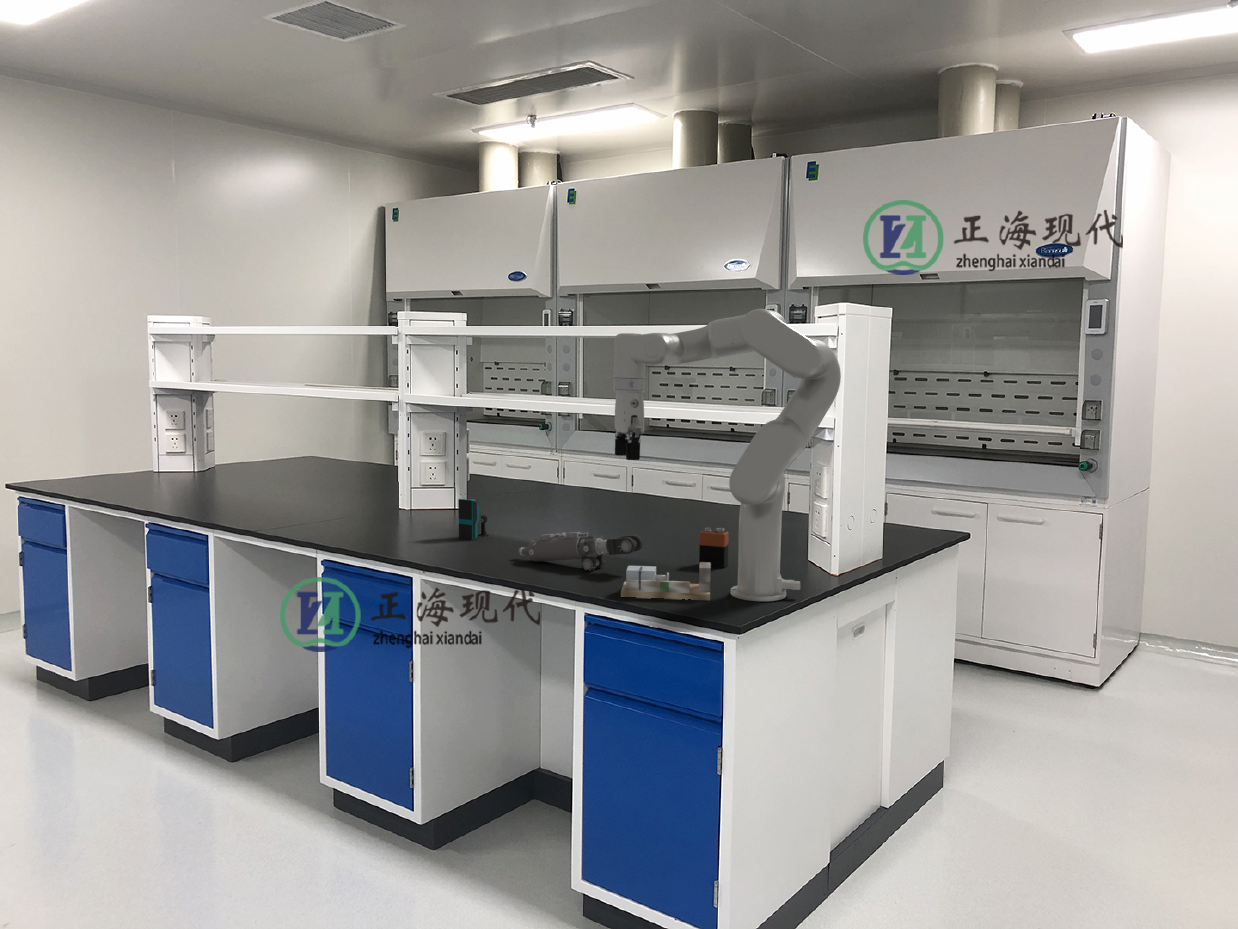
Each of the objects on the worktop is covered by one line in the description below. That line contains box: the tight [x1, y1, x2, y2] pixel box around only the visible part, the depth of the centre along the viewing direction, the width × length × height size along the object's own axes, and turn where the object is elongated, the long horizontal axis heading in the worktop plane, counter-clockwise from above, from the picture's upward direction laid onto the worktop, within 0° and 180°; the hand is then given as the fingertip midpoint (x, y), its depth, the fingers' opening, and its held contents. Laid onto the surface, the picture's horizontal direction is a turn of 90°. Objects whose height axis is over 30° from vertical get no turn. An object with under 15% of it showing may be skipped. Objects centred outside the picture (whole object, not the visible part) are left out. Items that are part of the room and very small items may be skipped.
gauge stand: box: [620, 562, 712, 601], centre depth 214 cm, size 20×9×7 cm, turn 85°
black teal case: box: [457, 498, 488, 541], centre depth 280 cm, size 6×12×10 cm
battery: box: [698, 527, 730, 569], centre depth 244 cm, size 4×7×10 cm, turn 67°
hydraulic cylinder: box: [517, 531, 644, 572], centre depth 241 cm, size 7×37×10 cm, turn 60°
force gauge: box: [625, 565, 670, 588], centre depth 213 cm, size 10×8×4 cm
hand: (626, 457), depth 224 cm, fingers open, 9 cm apart
